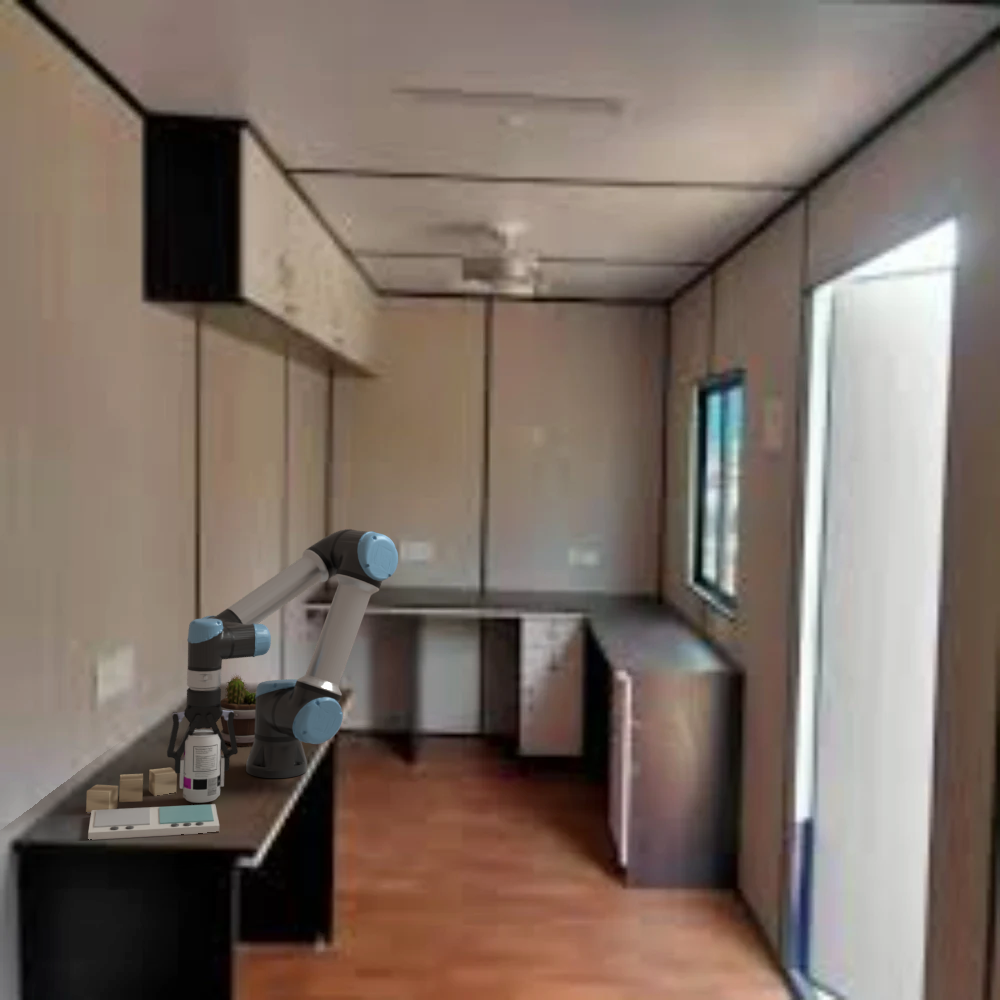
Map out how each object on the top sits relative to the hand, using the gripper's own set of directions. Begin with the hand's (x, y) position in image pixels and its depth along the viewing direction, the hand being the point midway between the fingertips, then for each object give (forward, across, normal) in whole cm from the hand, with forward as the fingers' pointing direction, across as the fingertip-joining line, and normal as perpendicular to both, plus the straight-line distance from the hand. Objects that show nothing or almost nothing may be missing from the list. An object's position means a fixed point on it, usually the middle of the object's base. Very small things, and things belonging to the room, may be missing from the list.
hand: (201, 785), depth 255 cm
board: (+4, -10, -14) cm, 18 cm away
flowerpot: (+5, +14, +54) cm, 56 cm away
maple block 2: (+4, -15, +6) cm, 17 cm away
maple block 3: (+4, -8, +10) cm, 13 cm away
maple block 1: (+4, -21, -2) cm, 22 cm away
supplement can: (+3, 0, 0) cm, 3 cm away
